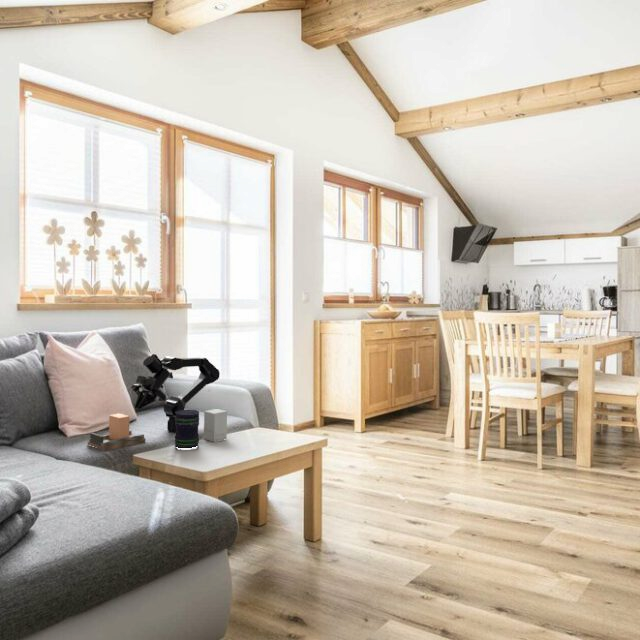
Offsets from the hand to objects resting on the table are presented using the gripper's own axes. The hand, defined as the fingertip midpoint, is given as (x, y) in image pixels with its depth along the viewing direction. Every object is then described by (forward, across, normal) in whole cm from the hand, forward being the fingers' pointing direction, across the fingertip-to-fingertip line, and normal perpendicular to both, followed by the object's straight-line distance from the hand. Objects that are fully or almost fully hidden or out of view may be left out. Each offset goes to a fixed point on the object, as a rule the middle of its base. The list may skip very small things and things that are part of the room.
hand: (136, 408), depth 279 cm
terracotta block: (+14, 0, +2) cm, 15 cm away
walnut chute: (+16, 0, +3) cm, 17 cm away
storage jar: (+5, +25, +15) cm, 29 cm away
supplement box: (-7, +23, +27) cm, 36 cm away
